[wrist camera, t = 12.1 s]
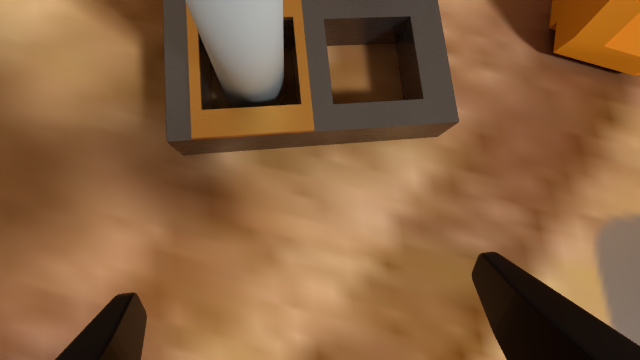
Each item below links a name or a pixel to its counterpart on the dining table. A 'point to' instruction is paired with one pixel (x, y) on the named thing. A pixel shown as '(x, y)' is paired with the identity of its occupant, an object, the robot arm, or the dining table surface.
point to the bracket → (598, 32)
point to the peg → (244, 48)
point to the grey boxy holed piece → (313, 80)
